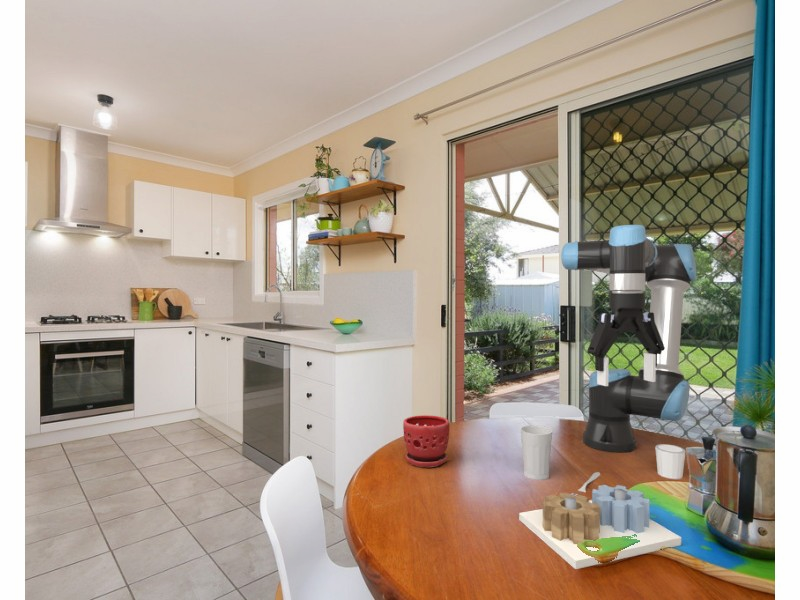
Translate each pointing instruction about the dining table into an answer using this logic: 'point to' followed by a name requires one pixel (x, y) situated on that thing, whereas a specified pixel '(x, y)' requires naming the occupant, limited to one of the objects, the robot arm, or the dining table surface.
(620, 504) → the gear
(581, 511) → the gear
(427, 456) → the plant pot
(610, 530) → the gear board
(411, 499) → the dining table surface
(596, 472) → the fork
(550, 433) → the cup
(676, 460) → the short white tumbler
